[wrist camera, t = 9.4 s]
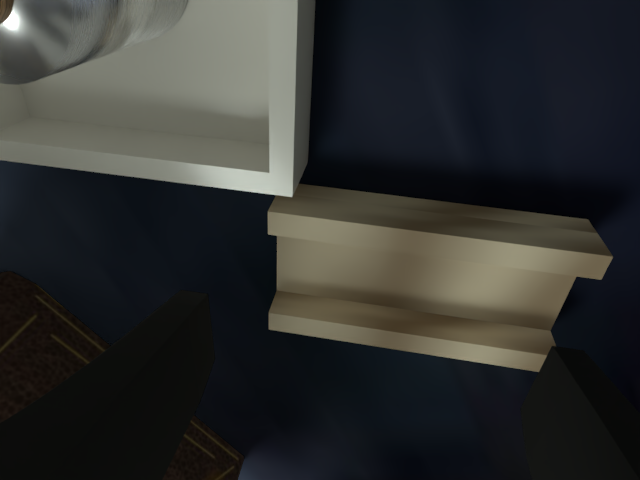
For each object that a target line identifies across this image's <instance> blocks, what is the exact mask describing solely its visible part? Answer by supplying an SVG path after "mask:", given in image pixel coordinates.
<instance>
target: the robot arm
mask: <svg viewBox="0 0 640 480" xmlns="http://www.w3.org/2000/svg"><path fill="white" fill-rule="evenodd" d="M214 360H215V354H214V345H213V336H212V326H211V317H210V308H209V298H208V294H205V293H198V292H192V291H185V290H181V291H179V292H178V293H177V294H175V295H174V296H173V297H172V298H170V299H169V300H168V301H167V302H165V303H164V304H163V305H162V306H160V307H159V308H158V309H157V310H155V311H154V312H153V313H152V314H151V315H149V316H148V317H147V318H146V319H144V320H143V321H142V322H141V323H139V324H138V325H137V326H136V327H134V328H133V329H132V330H131V331H130V332H128V333H127V334H126V335H124V336H123V337H122V338H121V339H119V340H118V341H117V342H115V343H114V344H113V345H112V346H110V347H109V348H108V349H106V350H105V351H104V352H103V353H101V354H100V355H99V356H97V357H96V358H95V359H94V360H92V361H91V362H90V363H88V364H87V365H85V366H84V367H83V368H81V369H80V370H78V371H77V372H76V373H74V374H73V375H71V376H70V377H69V378H67V379H66V380H64V381H63V382H62V383H60V384H59V385H57V386H56V387H55V388H53V389H52V390H51V391H49V392H48V393H46V394H45V395H43V396H42V397H40V398H39V399H37V400H36V401H34V402H33V403H31V404H30V405H28V406H27V407H25V408H24V409H22V410H21V411H19V412H17V413H16V414H14V415H13V416H11V417H10V418H8V419H6V420H5V421H3V422H1V423H0V480H162V479H163V477H164V475H165V473H166V471H167V469H168V467H169V465H170V463H171V461H172V459H173V457H174V455H175V453H176V451H177V449H178V447H179V445H180V442H181V440H182V438H183V436H184V434H185V432H186V430H187V428H188V426H189V424H190V422H191V420H192V418H193V415H194V413H195V411H196V409H197V407H198V405H199V403H200V400H201V398H202V395H203V392H204V389H205V386H206V384H207V381H208V378H209V375H210V372H211V369H212V366H213V363H214ZM521 418H522V426H523V435H524V442H525V449H526V456H527V461H528V465H529V469H530V473H531V477H532V480H640V413H639V412H638V411H637V410H636V409H635V408H634V407H633V406H632V404H631V403H630V402H629V401H628V400H627V399H626V398H625V396H624V395H623V394H622V393H621V392H620V391H619V390H618V388H617V387H616V386H615V385H614V384H613V383H612V382H611V380H610V379H609V378H608V377H607V376H606V375H605V374H604V373H603V371H602V370H601V369H600V368H599V367H598V366H597V365H596V364H595V362H594V361H593V360H592V359H591V358H590V357H589V356H588V355H587V354H586V353H585V352H584V351H583V350H576V349H570V348H563V347H556V346H552V347H551V349H550V351H549V353H548V355H547V357H546V359H545V361H544V363H543V365H542V367H541V369H540V371H539V373H538V375H537V377H536V379H535V381H534V383H533V385H532V387H531V389H530V391H529V393H528V395H527V397H526V399H525V401H524V403H523V405H522V407H521Z"/></svg>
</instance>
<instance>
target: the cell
mask: <svg viewBox="0 0 640 480" xmlns="http://www.w3.org/2000/svg"><path fill="white" fill-rule="evenodd" d="M187 3H188V0H0V83H2V84H15V85H19V84H26V83H30V82H33V81H36V80H39V79H42V78H45V77H48V76H50V75H53V74H56V73H59V72H61V71H64V70H67V69H70V68H73V67H75V66H78V65H81V64H84V63H86V62H89V61H92V60H95V59H98V58H100V57H103V56H106V55H109V54H112V53H114V52H117V51H120V50H123V49H125V48H128V47H131V46H134V45H137V44H139V43H142V42H145V41H148V40H150V39H153V38H156V37H159V36H161V35H163V34H165V33H167V32H168V31H170V30H171V29H172V28H173V27H174V26H175V25H176V24H177V23H178V22H179V20H180V19H181V17H182V15H183V13H184V11H185V9H186V6H187Z"/></svg>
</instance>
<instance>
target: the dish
mask: <svg viewBox="0 0 640 480" xmlns="http://www.w3.org/2000/svg"><path fill="white" fill-rule="evenodd" d="M314 21H315V0H188V3H187V6H186V9H185V11H184V13H183V15H182V17H181V19H180V20H179V22H178V23H177V24H176V25H175V26H174V27H173V28H172V29H171V30H170V31H168V32H167V33H165V34H163V35H161V36H159V37H156V38H153V39H150V40H148V41H145V42H142V43H139V44H137V45H134V46H131V47H128V48H125V49H123V50H120V51H117V52H114V53H112V54H109V55H106V56H103V57H100V58H98V59H95V60H92V61H89V62H86V63H84V64H81V65H78V66H75V67H73V68H70V69H67V70H64V71H61V72H59V73H56V74H53V75H50V76H48V77H45V78H42V79H39V80H36V81H33V82H30V83H26V84H19V85H15V84H2V83H0V160H3V161H11V162H19V163H27V164H35V165H42V166H50V167H58V168H66V169H74V170H82V171H90V172H98V173H106V174H113V175H121V176H129V177H137V178H145V179H153V180H161V181H169V182H176V183H184V184H192V185H200V186H208V187H216V188H224V189H232V190H240V191H247V192H255V193H263V194H271V195H279V196H287V197H293V195H294V193H295V190H296V188H297V186H298V183H299V181H300V179H301V177H302V174H303V172H304V170H305V168H306V165H307V163H308V150H309V129H310V107H311V86H312V64H313V43H314Z"/></svg>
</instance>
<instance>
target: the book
mask: <svg viewBox="0 0 640 480" xmlns="http://www.w3.org/2000/svg"><path fill="white" fill-rule="evenodd" d="M109 347H110V345H109V344H108V343H106V342H105V341H104V340H103V339H102V338H100V337H99V336H98V335H97V334H95V333H94V332H93V331H92V330H91V329H89V328H88V327H87V326H86V325H85V324H83V323H82V322H81V321H80V320H79V319H77V318H76V317H75V316H74V315H73V314H71V313H70V312H69V311H68V310H67V309H65V308H64V307H63V306H62V305H60V304H59V303H58V302H57V301H56V300H54V299H53V298H52V297H51V296H50V295H48V294H47V293H46V292H45V291H44V290H42V289H41V288H40V287H39V286H38V285H36V284H35V283H33V282H31V281H29V280H27V279H25V278H23V277H21V276H19V275H17V274H15V273H13V272H11V271H9V272H1V273H0V423H1V422H3V421H5V420H6V419H8V418H10V417H11V416H13V415H14V414H16V413H17V412H19V411H21V410H22V409H24V408H25V407H27V406H28V405H30V404H31V403H33V402H34V401H36V400H37V399H39V398H40V397H42V396H43V395H45V394H46V393H48V392H49V391H51V390H52V389H53V388H55V387H56V386H57V385H59V384H60V383H62V382H63V381H64V380H66V379H67V378H69V377H70V376H71V375H73V374H74V373H76V372H77V371H78V370H80V369H81V368H83V367H84V366H85V365H87V364H88V363H90V362H91V361H92V360H94V359H95V358H96V357H97V356H99V355H100V354H101V353H103V352H104V351H105V350H106V349H108V348H109ZM243 461H244V456H243V455H241V454H240V453H239V452H238V451H237V450H235V449H234V448H233V447H232V446H231V445H229V444H228V443H227V442H226V441H225V440H223V439H222V438H221V437H220V436H219V435H217V434H216V433H215V432H214V431H213V430H211V429H210V428H209V427H208V426H206V425H205V424H204V423H203V422H202V421H200V420H199V419H198V418H197V417H196V416H194V415H193V418H192V420H191V422H190V424H189V426H188V428H187V430H186V432H185V434H184V436H183V438H182V440H181V442H180V445H179V447H178V449H177V451H176V453H175V455H174V457H173V459H172V461H171V463H170V465H169V467H168V469H167V471H166V473H165V475H164V477H163V479H162V480H238V477H239V474H240V471H241V467H242V464H243Z"/></svg>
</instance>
